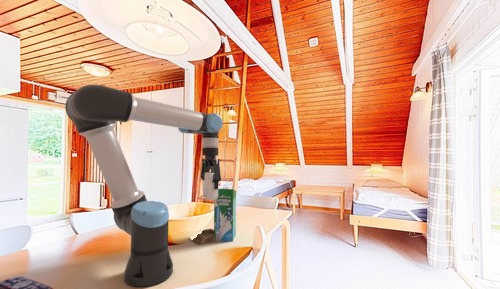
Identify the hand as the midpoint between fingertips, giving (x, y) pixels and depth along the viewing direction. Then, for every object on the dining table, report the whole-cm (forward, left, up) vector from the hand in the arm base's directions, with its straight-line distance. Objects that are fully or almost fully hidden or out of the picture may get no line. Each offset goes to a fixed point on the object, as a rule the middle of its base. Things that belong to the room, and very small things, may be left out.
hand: (210, 195), depth 114 cm
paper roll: (-1, -2, -1) cm, 3 cm away
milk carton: (+8, 0, -22) cm, 24 cm away
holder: (0, +4, -22) cm, 22 cm away
